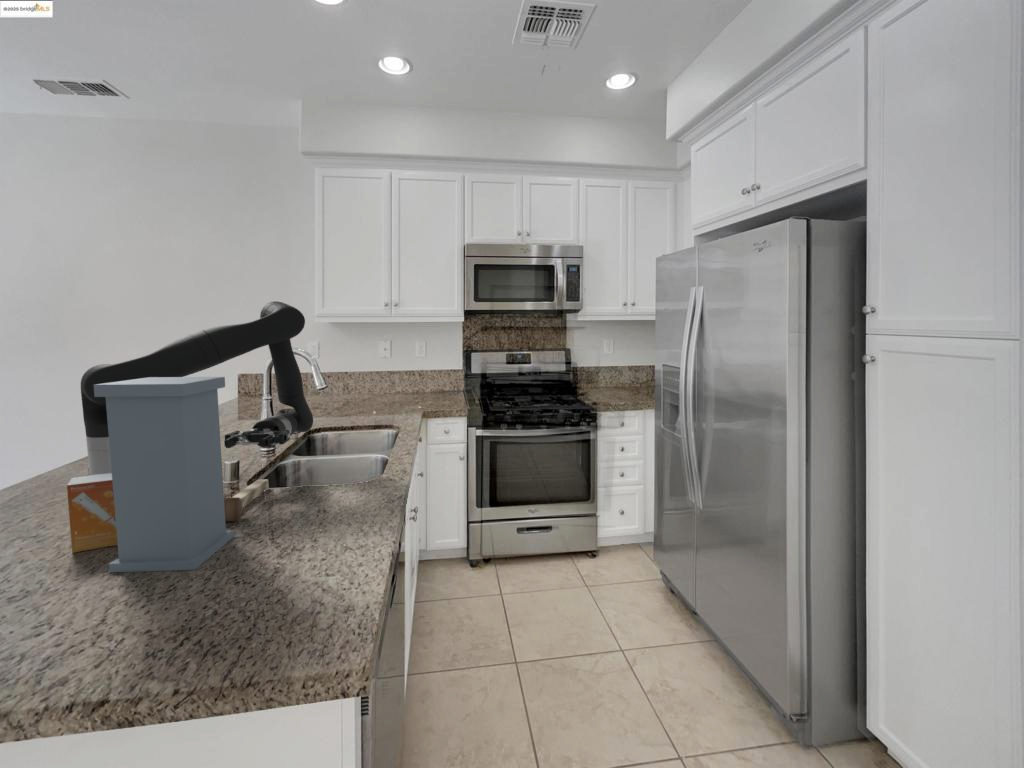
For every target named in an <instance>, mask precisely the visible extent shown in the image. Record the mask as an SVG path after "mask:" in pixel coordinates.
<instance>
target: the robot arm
mask: <svg viewBox="0 0 1024 768" xmlns="http://www.w3.org/2000/svg"><path fill="white" fill-rule="evenodd" d="M259 314H260V315H259V317H260V318H258V319H255V320H253V321H249V322H244V323H237V324H229V325H220V326H213V327H210V328H206V329H202V330H199V331H196V332H194V333H191V334H187V335H185V336H183V337H180V338H178V339H176V340H174V341H172V342H170V343H168V344H166V345H164V346H163V347H161V348H158V349H157V350H155V351H153V352H151V353H149V354H146V355H143V356H140V357H136V358H132V359H130V360H125V361H122V362H118V363H112V364H110V363H102V364H97V365H93V366H92V367H90V368H88V369H87V370H86V371H85V372H84V374H83V375H82V377H81V378H80V379H81V380H80V394H81V395H80V396H81V405H82V415H83V423H84V428H85V436H86V438H85V439H86V447H87V448H86V449H87V458H88V459H87V460H88V461H87V462H88V468H87V476H91V475H97V474H107V473H112V470H111V458H110V445H109V433H108V421H107V409H106V397H95V396H94V385H96V384H103V383H110V382H118V381H125V380H132V379H140V378H147V377H188V376H190V375H193V374H196V373H199V372H202V371H205V370H207V369H210V368H213V367H215V366H217V365H218V366H219V365H220V364H222V363H226V362H227V361H230V360H232V359H234V358H236V357H240V356H242V355H245V354H247V353H250V352H252V351H254V350H257V349H259V348H263V347H265V346H268V348H269V352H270V356H271V360H272V361H271V362H272V365H273V371H274V375H275V383H276V391H277V399H278V401H279V403H280V404H282V405H285V406H288V407H291V408H281V409H279V410H277V412H276V415H272V416H271V415H270V416H268V417H266V418H264V419H262V420H261V419H260V421H259V420H258V421H257V422H256V423H254V424H253V426H252V428H251V429H249V430H243V431H241V430H235V431H232V432H230V433H226V434H224V447H225V449H231V448H233V447H235V446H243V447H245V446H250V445H257V446H258V447H260V448H264V449H265V448H266V449H267V448H268V449H269V448H273V447H276V445H284V444H286V443H287V442H289V441H290V440H291V436H292V435H294V433H307V432H309V431H310V430H311V429H312V427H313V425H314V416H313V413H312V410H311V408H310V406H309V404H308V402H307V400H306V396H305V394H304V385H303V378H302V373H301V370H300V367H299V364H298V362H297V358H296V356H295V354H294V351H293V348H292V347H293V346H292V342H291V339H293V338H294V337H296V336H298V335H299V334H301V333H302V331H303V330H304V328H305V324H306V319H305V316H304V314H303V313H302V312H301V311H300V310H299V309H297V308H296V307H295V306H292V305H290V304H287V303H284V302H282V301H276V300H275V301H269V302H267V303H266V304H264V306H263V307H262V309H261V310H260V313H259Z"/></svg>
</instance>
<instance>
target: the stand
mask: <svg viewBox="0 0 1024 768" xmlns="http://www.w3.org/2000/svg"><path fill="white" fill-rule="evenodd" d="M225 378H226V377H225V376H184V377H147V378H140V379H132V380H125V381H118V382H110V383H103V384H96V385H94V396H95V397H106V409H107V421H108V433H109V445H110V458H111V470H112V482H113V494H114V506H115V518H116V530H117V543H118V545H117V551H118V552H117V555H118V558H115V559H114V560H112V561H111V562H109V563H108V572H109V573H131V572H134V573H135V572H159V571H160V572H164V571H165V572H166V571H195V570H197V569H199V567H200V566H201V565H203V564H204V563H205V562H207V560H208V559H210V558H211V557H212V556H213V555H215V554H216V553H217V552H218V551H219V550H221V549H222V548H223V547H224V546H225V545H226V544H228V543H229V542H230V541H231V540H232V539H234V538H235V533H234V532H235V531H234V529H227V528H226V527H227V525H226V522H225V508H224V498H225V497H224V496H225V494H224V493H225V492H224V480H223V478H224V477H223V461H222V446H221V445H222V444H221V428H220V427H221V426H220V411H219V409H220V408H219V395H218V389H223V388H226V379H225ZM233 537H234V538H233ZM228 541H229V542H228ZM227 542H228V543H227ZM222 546H223V547H222ZM221 547H222V548H221ZM215 552H216V553H215Z"/></svg>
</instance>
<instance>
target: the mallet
mask: <svg viewBox="0 0 1024 768" xmlns="http://www.w3.org/2000/svg"><path fill="white" fill-rule="evenodd" d="M269 486H270V485H269V479H264V478H263V479H256V481H254V482H252V483H250V484H249V485H248V486H246V487H244V489H241V490H240V491H239V492H237V493H236V494H234V495H233V496H232V497H224V508H225V523H226V522H227V523H228V522H230V521H231V522H238V521H239V520H240V519H239V518H241V516H242V513H243V509H244V508H245V507H244V506H246V505H247V504H248V503H250V502H251V501H252V500H253V499H255V498H256V497H258V496H259V495H260V494H262V493H263V492H264V490H266V489H268V490H269V489H270V487H269ZM264 493H265V492H264ZM264 493H263V494H264ZM263 494H262V495H263ZM260 496H261V495H260ZM260 496H259V497H260ZM259 497H258V498H259ZM256 499H257V498H256ZM256 499H255V500H256ZM252 502H253V501H252ZM252 502H251V503H252ZM251 503H250V504H251ZM248 505H249V504H248ZM248 505H247V506H248ZM247 506H246V507H247ZM243 507H244V508H243ZM242 508H243V509H242ZM238 519H239V520H238ZM237 520H238V521H237Z"/></svg>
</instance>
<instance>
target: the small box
mask: <svg viewBox="0 0 1024 768" xmlns="http://www.w3.org/2000/svg"><path fill="white" fill-rule="evenodd" d="M66 492H67V494H66V495H67V507H68V516H69V520H68V521H69V532H70V541H71V542H70V543H71V553H72V554H74V553H80V552H85V551H90V550H91V551H92V550H96V549H97V550H98V549H102V548H108V546H109V547H113V546H118V543H117V530H116V518H115V506H114V494H113V482H112V473H107V474H97V475H91V476H88V475H85V476H75V477H72V478H71V479H70V480H69V481H68V483H67V484H66Z"/></svg>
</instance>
